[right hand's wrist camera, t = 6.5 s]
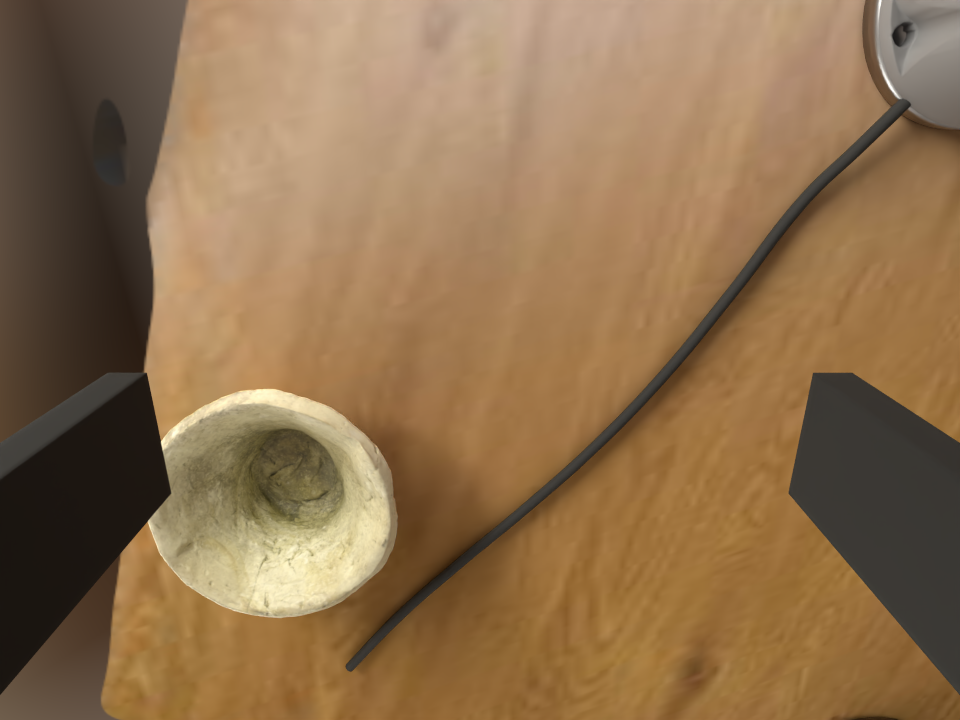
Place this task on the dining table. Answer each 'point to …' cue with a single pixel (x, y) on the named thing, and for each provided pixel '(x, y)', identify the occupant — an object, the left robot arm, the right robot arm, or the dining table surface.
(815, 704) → the dining table surface
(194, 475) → the bowl
